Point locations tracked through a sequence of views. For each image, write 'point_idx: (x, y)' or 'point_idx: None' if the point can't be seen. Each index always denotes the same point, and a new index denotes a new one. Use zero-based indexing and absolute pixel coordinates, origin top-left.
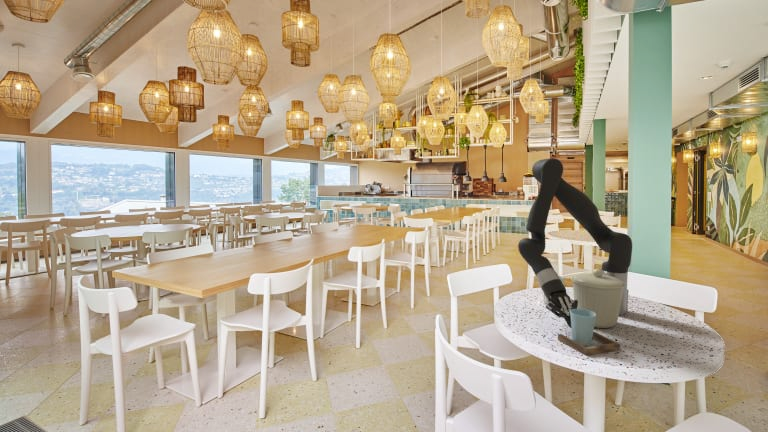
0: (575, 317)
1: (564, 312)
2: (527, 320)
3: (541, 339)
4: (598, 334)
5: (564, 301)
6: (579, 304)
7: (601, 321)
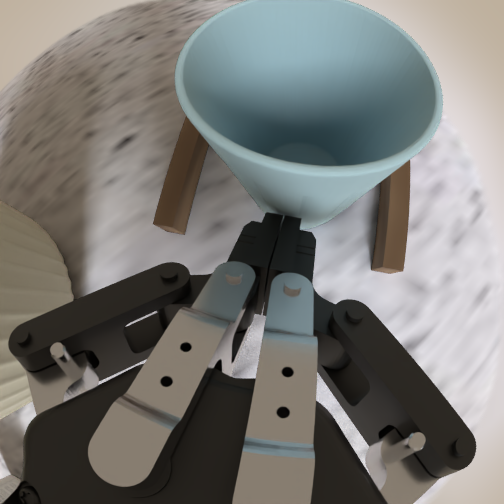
0: (423, 88)
1: (308, 323)
2: None
3: (451, 318)
4: (181, 152)
5: (179, 436)
6: (7, 365)
7: (42, 235)
